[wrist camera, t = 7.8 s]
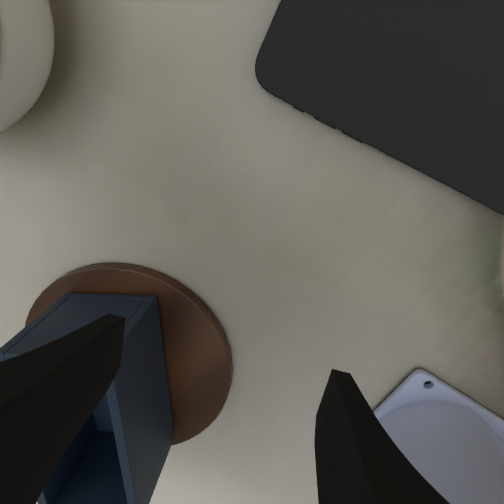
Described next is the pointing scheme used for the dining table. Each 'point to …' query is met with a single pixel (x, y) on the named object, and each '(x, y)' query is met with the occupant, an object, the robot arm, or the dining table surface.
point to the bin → (111, 404)
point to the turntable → (166, 337)
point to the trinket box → (23, 56)
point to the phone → (400, 81)
